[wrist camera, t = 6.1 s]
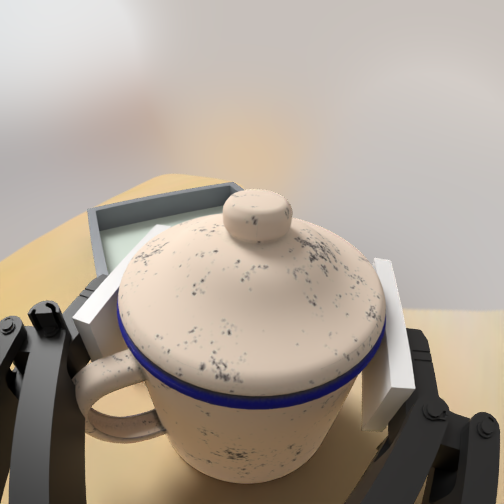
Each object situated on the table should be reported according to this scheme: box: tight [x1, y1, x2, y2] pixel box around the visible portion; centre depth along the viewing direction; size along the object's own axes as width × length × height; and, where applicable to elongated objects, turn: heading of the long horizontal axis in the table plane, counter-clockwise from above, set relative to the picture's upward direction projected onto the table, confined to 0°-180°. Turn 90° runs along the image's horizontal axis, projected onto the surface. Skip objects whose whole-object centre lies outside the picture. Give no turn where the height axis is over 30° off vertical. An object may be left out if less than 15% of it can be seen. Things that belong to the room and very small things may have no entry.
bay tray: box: [87, 182, 244, 350], centre depth 26 cm, size 16×16×3 cm
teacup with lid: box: [72, 189, 386, 484], centre depth 11 cm, size 12×9×12 cm
